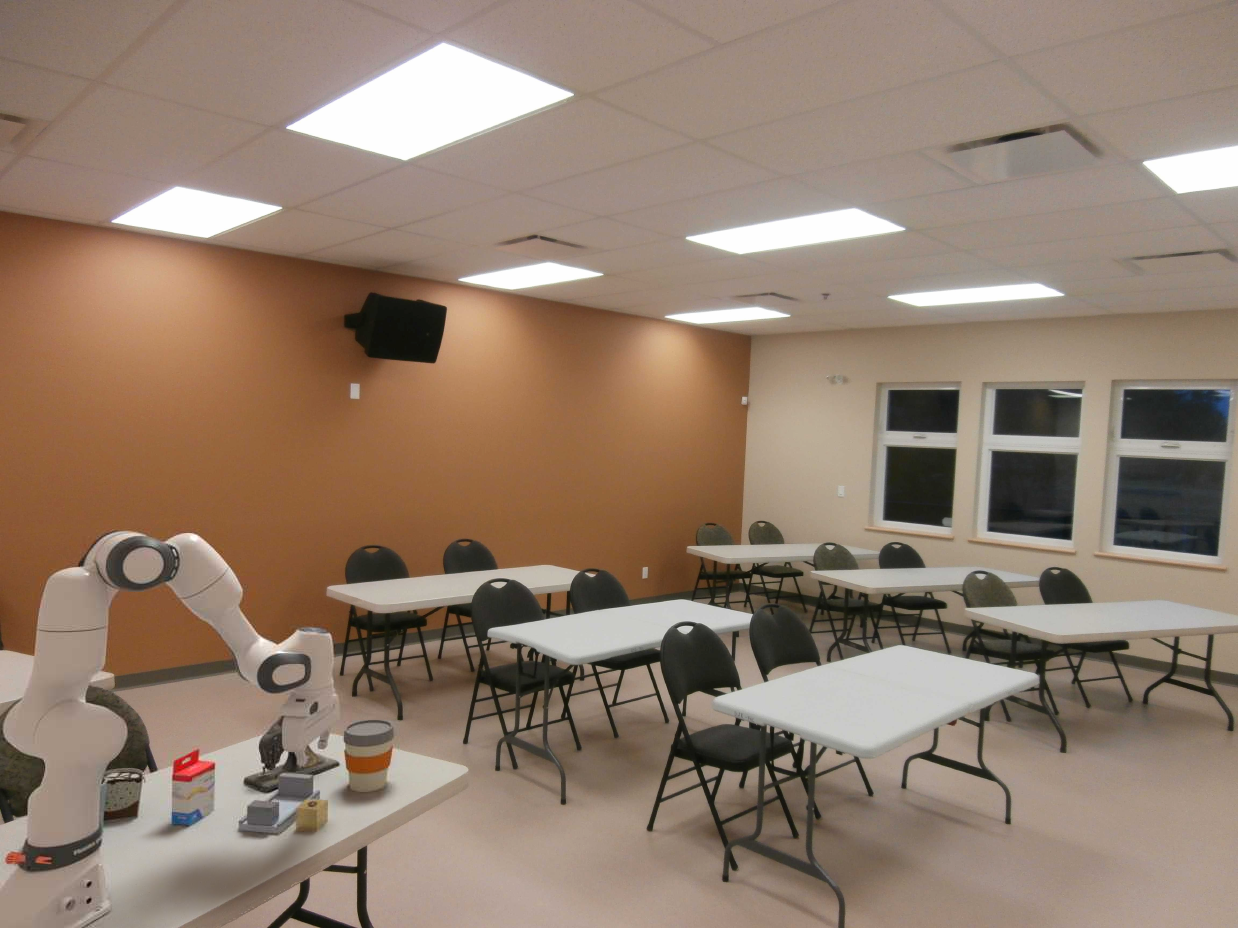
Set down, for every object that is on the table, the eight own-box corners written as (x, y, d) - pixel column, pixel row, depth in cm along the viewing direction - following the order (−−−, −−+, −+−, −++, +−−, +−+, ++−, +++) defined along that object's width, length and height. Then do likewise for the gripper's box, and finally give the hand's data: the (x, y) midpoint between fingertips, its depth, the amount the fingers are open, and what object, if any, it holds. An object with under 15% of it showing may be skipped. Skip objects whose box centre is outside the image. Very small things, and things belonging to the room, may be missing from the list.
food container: (149, 805, 189) (149, 764, 189) (144, 816, 184) (145, 774, 183) (89, 813, 185) (89, 771, 184) (82, 824, 179) (83, 781, 179)
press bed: (279, 833, 177) (280, 804, 177) (238, 829, 178) (239, 801, 178) (319, 798, 195) (320, 772, 195) (282, 795, 196) (282, 769, 196)
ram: (271, 825, 177) (271, 807, 177) (246, 823, 178) (247, 805, 178) (281, 816, 181) (282, 799, 181) (257, 814, 182) (257, 797, 182)
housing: (316, 831, 179) (317, 808, 178) (296, 829, 179) (296, 807, 179) (327, 821, 184) (327, 799, 183) (307, 819, 184) (307, 797, 184)
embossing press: (240, 783, 203) (242, 668, 202) (321, 755, 222) (323, 650, 222) (264, 794, 197) (266, 676, 196) (345, 765, 216) (347, 657, 215)
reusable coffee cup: (355, 772, 211) (356, 717, 210) (400, 775, 209) (401, 720, 209) (333, 793, 198) (334, 734, 198) (381, 796, 197) (382, 737, 197)
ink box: (189, 826, 179) (190, 763, 179) (170, 824, 180) (171, 760, 180) (215, 810, 188) (216, 749, 187) (197, 807, 189) (198, 747, 188)
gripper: (322, 682, 192) (321, 738, 192) (276, 710, 171) (276, 773, 172) (346, 683, 191) (346, 739, 191) (303, 712, 171) (303, 775, 171)
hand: (312, 755), depth 181 cm, fingers open, 8 cm apart
